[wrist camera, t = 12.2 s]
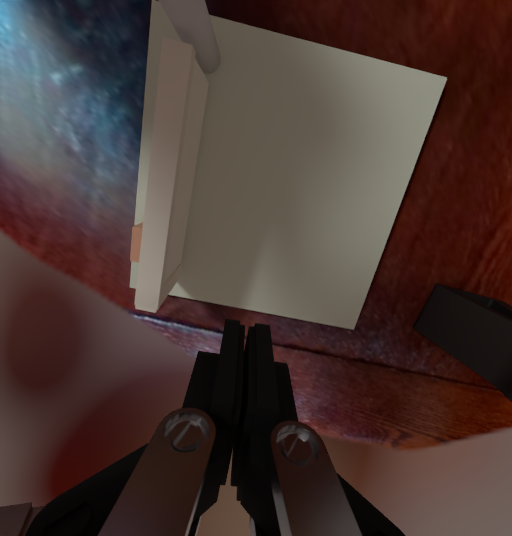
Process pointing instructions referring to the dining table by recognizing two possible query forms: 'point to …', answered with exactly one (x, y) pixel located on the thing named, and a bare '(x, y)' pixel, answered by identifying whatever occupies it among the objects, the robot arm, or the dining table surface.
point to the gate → (170, 171)
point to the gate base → (287, 166)
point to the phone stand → (471, 332)
